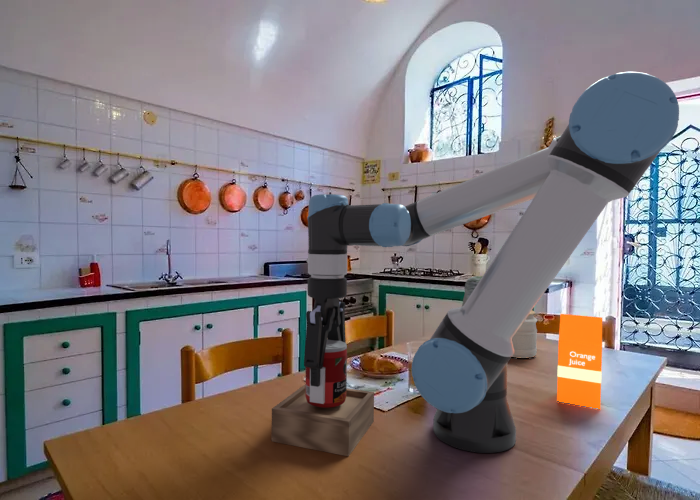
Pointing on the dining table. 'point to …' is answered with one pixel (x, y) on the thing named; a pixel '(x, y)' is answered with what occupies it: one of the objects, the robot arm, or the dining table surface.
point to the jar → (526, 338)
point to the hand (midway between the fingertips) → (326, 394)
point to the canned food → (332, 375)
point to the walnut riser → (323, 422)
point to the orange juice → (580, 360)
